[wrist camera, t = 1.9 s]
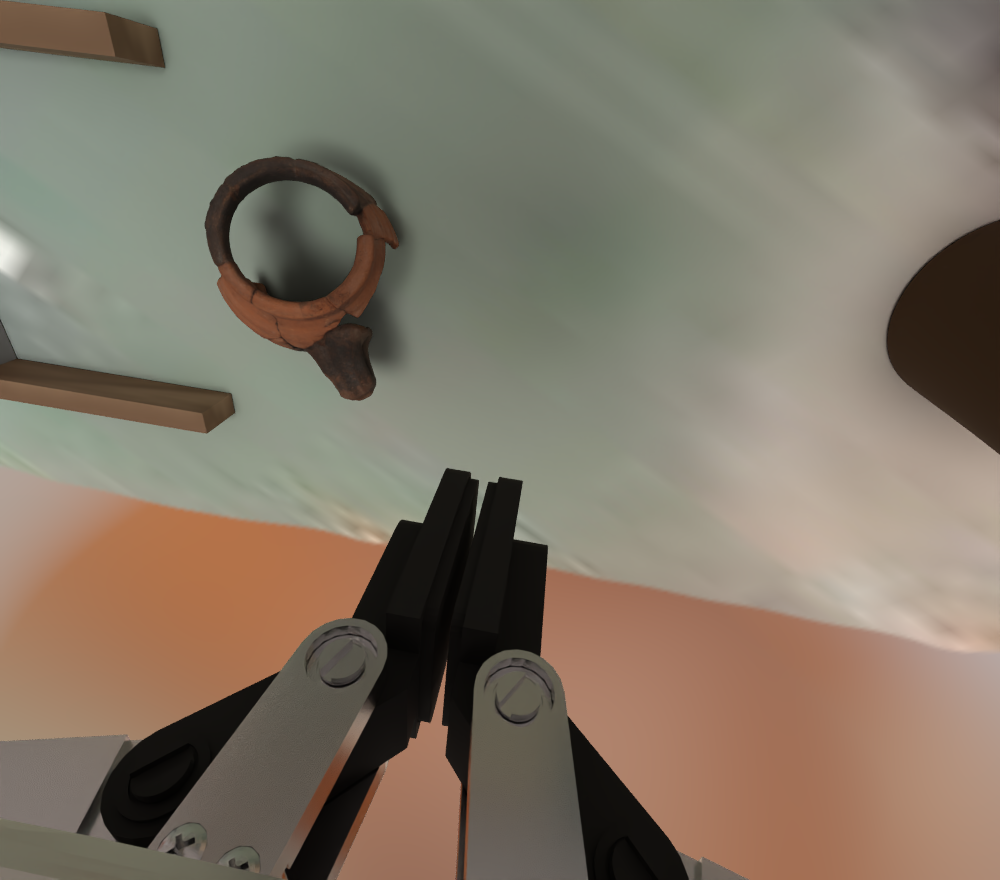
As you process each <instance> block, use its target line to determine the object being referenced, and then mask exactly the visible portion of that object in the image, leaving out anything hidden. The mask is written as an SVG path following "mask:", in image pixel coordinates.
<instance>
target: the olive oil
mask: <svg viewBox="0 0 1000 880" xmlns="http://www.w3.org/2000/svg"><path fill="white" fill-rule="evenodd" d="M887 345H888V353H889V357H890V360H891V363H892V365H893V367H894V369H895V371H896V372H897V373H898V375H899V376H900V377H901V378H902V379H903V381H905V382H906V383H907V384H908V385H909V386H910V387H912V388H913V389H914V390H915V391H917V392H918V393H919V394H921V395H922V396H924V397H925V398H926V399H928V400H929V401H930V402H932V403H933V404H934V405H936V406H937V407H938V408H940V409H941V410H942V411H944V412H945V413H946V414H948V415H949V416H950V417H952V418H953V419H954V420H956V421H957V422H958V423H960V424H961V425H962V426H964V427H965V428H966V429H968V430H969V431H970V432H972V433H973V434H974V435H976V436H977V437H978V438H979V439H981V440H982V441H983V442H984V443H986V444H987V445H988V446H990V447H991V448H992V449H993V450H995V451H996V452H997V453H998V454H1000V221H997V222H994V223H991V224H989V225H986V226H984V227H982V228H980V229H977V230H975V231H973V232H971V233H970V234H968V235H966V236H964V237H963V238H961V239H959V240H958V241H956V242H954V243H953V244H951V245H950V246H949V247H947V248H946V249H945V250H943V251H942V252H941V253H939V254H938V255H937V256H936V257H935V258H933V259H932V260H931V261H930V262H929V263H928V264H927V265H926V266H925V267H924V268H923V269H922V270H921V271H920V272H919V273H918V274H917V275H916V277H915V278H914V279H913V280H912V282H911V283H910V284H909V285H908V287H907V288H906V290H905V291H904V293H903V294H902V296H901V298H900V300H899V301H898V303H897V305H896V307H895V310H894V312H893V315H892V318H891V321H890V325H889V329H888V338H887Z"/></svg>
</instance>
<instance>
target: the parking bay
mask: <svg viewBox="0 0 1000 880" xmlns="http://www.w3.org/2000/svg"><path fill="white" fill-rule="evenodd" d="M0 48H6V49H15V50H23V51H31V52H39V53H48V54H56V55H64V56H72V57H81V58H89V59H97V60H105V61H114V62H122V63H130V64H138V65H147V66H155V67H163V68H165V65H164V60H163V55H162V50H161V45H160V40H159V36H158V31H157V29H156V28H153V27H150V26H147V25H144V24H140V23H137V22H134V21H131V20H128V19H124V18H121V17H118V16H115V15H112V14H108V13H105V12H97V11H88V10H80V9H71V8H62V7H53V6H45V5H36V4H27V3H19V2H10V1H1V0H0ZM0 399H6V400H12V401H18V402H23V403H29V404H35V405H41V406H47V407H53V408H59V409H65V410H71V411H77V412H83V413H89V414H94V415H100V416H106V417H112V418H118V419H124V420H130V421H136V422H142V423H148V424H154V425H159V426H165V427H171V428H177V429H183V430H189V431H195V432H201V433H208V432H210V431H211V430H212V429H214V428H215V427H216V426H218V425H219V424H220V423H222V422H223V421H225V420H226V419H227V418H229V417H230V416H231V415H233V414H234V413H235V411H234V406H233V401H232V396H231V394H230V393H224V392H218V391H212V390H206V389H199V388H193V387H187V386H181V385H175V384H169V383H163V382H157V381H150V380H144V379H138V378H132V377H126V376H120V375H114V374H108V373H101V372H95V371H89V370H83V369H77V368H71V367H65V366H59V365H53V364H46V363H40V362H34V361H28V360H22V359H17V358H16V355H15V353H14V351H13V348H12V346H11V344H10V342H9V339H8V337H7V335H6V333H5V330H4V328H3V326H2V323H1V321H0Z"/></svg>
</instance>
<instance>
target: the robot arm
mask: <svg viewBox="0 0 1000 880" xmlns="http://www.w3.org/2000/svg"><path fill="white" fill-rule="evenodd" d="M522 483H523V481H520V480H514V479H508V478H502V477H499V479H498V483H493V482H488V486H487V489H486V493H485V497H484V500H483V504H482V508H481V511H480V515H479V519H478V523H477V526H476V530H475V534H474V525H475V515H476V506H477V496H478V487H479V480H476V479H471V472H467V471H461V470H455V469H449V468H447V469H446V470H445V472H444V474H443V477H442V479H441V481H440V484H439V486H438V489H437V491H436V493H435V496H434V498H433V501H432V503H431V505H430V508H429V510H428V512H427V515H426V517H425V520H424V522H423V523H418V522H412V521H407V520H401V521H400V522H399V523H398V525H397V527H396V529H395V531H394V533H393V535H392V537H391V539H390V541H389V543H388V545H387V547H386V549H385V551H384V553H383V555H382V557H381V559H380V561H379V563H378V565H377V567H376V570H375V572H374V574H373V576H372V578H371V580H370V582H369V584H368V586H367V588H366V590H365V592H364V594H363V596H362V598H361V600H360V603H359V604H358V606H357V608H356V610H355V613H354V615H353V617H352V618H347V619H338V620H335V621H332V622H329V623H326V624H324V625H322V626H320V627H319V628H317V629H316V630H314V631H313V632H312V633H311V634H310V635H309V636H308V637H307V638H306V639H305V640H304V641H303V642H302V643H301V644H300V646H299V647H298V648H297V650H296V651H295V652H294V654H293V655H292V657H291V658H290V659H289V660H288V662H287V663H286V664H285V666H284V667H283V668H282V670H281V671H279V672H277V673H275V674H273V675H271V676H269V677H267V678H265V679H263V680H261V681H259V682H257V683H255V684H253V685H251V686H249V687H247V688H245V689H242V690H241V691H238V692H236V693H234V694H232V695H231V696H228V697H226V698H224V699H222V700H220V701H218V702H216V703H214V704H212V705H210V706H208V707H206V708H203V709H201V710H199V711H197V712H195V713H193V714H191V715H189V716H187V717H185V718H183V719H181V720H179V721H177V722H175V723H173V724H171V725H169V726H166V727H165V728H162V729H160V730H158V731H157V732H155V733H153V734H152V735H150V736H149V737H147V738H145V739H144V740H130V739H129V737H128V735H112V736H92V737H75V738H56V739H37V740H19V741H1V742H0V880H336V879H337V877H338V875H339V873H340V870H341V868H342V866H343V864H344V861H345V859H346V857H347V855H348V853H349V850H350V848H351V846H352V844H353V842H354V839H355V837H356V835H357V833H358V831H359V828H360V826H361V824H362V822H363V820H364V817H365V815H366V813H367V811H368V808H369V806H370V804H371V802H372V799H373V797H374V795H375V793H376V791H377V789H378V786H379V784H380V782H381V780H382V777H383V775H384V773H385V770H386V768H387V764H388V761H389V759H391V758H392V757H394V756H395V755H397V754H398V753H400V752H401V751H403V750H404V749H406V748H407V746H408V742H409V739H410V738H415V739H416V737H417V733H418V729H419V726H420V722H421V721H424V722H429V723H430V722H431V720H432V717H433V713H434V709H435V705H436V701H437V697H438V693H439V689H440V686H441V682H442V678H443V674H444V670H445V666H446V662H447V670H446V682H445V694H444V707H443V718H442V725H444V726H448V734H447V745H446V758H447V759H448V761H449V763H450V764H451V766H452V768H453V769H454V771H455V773H456V774H457V776H458V778H459V780H460V781H461V787H460V805H459V823H458V824H459V825H458V841H457V860H456V878H455V879H456V880H749V879H746V878H744V877H742V876H740V875H738V874H736V873H734V872H732V871H730V870H728V869H726V868H724V867H722V866H720V865H718V864H716V863H714V862H712V861H710V860H708V859H706V858H704V857H702V858H701V859H700V860H699V861H697V860H695V859H693V858H691V857H689V856H687V855H685V854H683V853H681V852H679V851H677V850H676V849H675V847H674V846H673V844H672V843H671V841H670V840H669V838H668V837H667V836H666V835H665V833H664V832H663V831H662V830H661V829H660V827H659V826H658V825H657V824H656V822H655V821H654V820H653V819H652V818H651V816H650V815H649V814H648V813H647V812H646V810H645V809H644V808H643V807H642V805H641V804H640V803H639V802H638V801H637V799H636V798H635V797H634V796H633V795H632V793H631V792H630V791H629V790H628V788H627V787H626V786H625V785H624V784H623V783H622V781H621V780H620V779H619V778H618V776H617V775H616V774H615V773H614V772H613V771H612V769H611V768H610V767H609V765H608V764H607V763H606V762H605V761H604V760H603V758H602V757H601V756H600V755H599V753H598V752H597V751H596V750H595V748H594V747H593V746H592V745H591V744H590V743H589V741H588V740H587V739H586V738H585V736H584V735H583V734H582V733H581V731H580V730H579V729H578V728H577V727H576V725H575V724H574V723H573V722H572V720H571V719H570V718H569V717H568V716H567V710H566V701H565V693H564V689H563V686H562V682H561V679H560V678H559V676H558V674H557V673H556V671H555V670H554V668H553V667H552V666H551V665H550V664H549V663H548V662H546V661H545V660H544V659H543V658H541V657H540V653H541V638H542V625H543V611H544V597H545V582H546V569H547V554H548V545H543V544H537V543H532V542H526V541H520V540H515V539H513V538H514V532H515V526H516V520H517V514H518V508H519V501H520V495H521V489H522ZM473 534H474V537H473Z"/></svg>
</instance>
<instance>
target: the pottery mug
mask: <svg viewBox="0 0 1000 880" xmlns="http://www.w3.org/2000/svg"><path fill="white" fill-rule="evenodd" d="M282 180H292V181H301V182H304V183H307V184H311V185H314V186H316V187H319V188H321V189H323V190H324V191H326V192H328V193H329V194H330V195H332V196H333V197H334V198H335V199H337V200H338V201H339V202H340V203H341V204H342V205H343V207H344V208H345V209H346V211H347V212H348V213H349V214H350V215H354V216H357V218H358V220H359V223H360V226H361V228H362V230H363V235H360V236H359V237H358V238H357V251H356V257H355V261H354V265H353V267H352V269H351V271H350V273H349V274H348V276H347V277H346V279H345V280H344V281H343V282H342V284H340V285H339V286H338V287H337V288H336V289H335V290H333V291H332V292H331V293H329V294H328V295H327V296H326V297H322V298H319V299H316V300H312V301H304V302H293V301H285V300H281V299H277V298H274V297H272V296H269V295H268V294H267V291H266V288H265V286H264V285H263V284H261V283H255V282H251V281H250V280H249V279H247V278H245V276H244V275H243V274H242V272H241V271H240V269H239V267H238V265H237V264H236V263H235V262H234V259H233V257H232V253H231V249H230V243H229V232H230V224H231V220H232V217H233V215H234V212H235V210H236V209H237V206H238V204H239V203H240V202H241V201H242V200H243V199H244V198H245V197H246V196H247V195H248V194H249V193H251V192H252V191H254V190H255V189H257V188H259V187H261V186H263V185H265V184H268V183H271V182H275V181H282ZM205 229H206V235H207V242H208V247H209V250H210V253H211V256H212V259H213V261H214V263H215V264H216V265H217V266H218V269H219V271H220V273H221V278H219V280H218V282H217V285H218V288H219V290H220V292H221V294H222V296H223V298H224V300H225V301H226V303H227V304H228V305H229V307H230V308H231V310H232V311H233V312H234V313H235V315H236V316H237V317H238V318H239V319H240V320H241V321H242V322H243V323H244V324H246V325H247V326H248V327H249V328H250V329H252V330H253V331H254V332H255V333H257V334H258V335H260V336H261V337H263V338H266V339H268V340H270V341H271V342H273V343H275V344H278V345H280V346H283V347H286V348H289V349H292V350H296V351H305V352H308V353H309V354H310V355H311V356H312V357H313V359H314V360H315V361H316V363H317V364H318V366H319V367H320V368H321V370H322V372H323V373H324V374H325V376H326V377H328V378H329V379H330V380H331V381H332V382H333V384H334V385H335V387H336V388H337V390H338V391H339V393H340V395H341V397H343V398H345V399H350V400H358V401H360V400H363V399H365V398H367V397H369V396H371V395H372V393H373V391H374V388H375V386H376V378H375V375H374V372H373V369H372V366H371V363H370V359H369V354H368V346H369V342H370V339H371V337H372V335H373V333H372V329H370V328H368V327H366V328H365V327H364V326H361V325H357V324H352V323H346V324H343V325H340V326H338V324H339V323H340V321H341V319H342V318H343V316H344V315H345V314H350V315H352V316H354V317H356V318H358V317H359V316H360V315H361V314H362V313H363V311H364V309H365V308H366V306H367V304H368V303H369V300H370V298H371V297H372V296H373V294H374V292H375V290H376V287H377V284H378V281H379V278H380V275H381V273H382V270H383V267H384V261H385V242H386V243H388V244H389V245H390V246H391V247H392V248H393V249H396V248H397V247H398V246H399V242H398V239H397V236H396V233H395V231H394V229H393V227H392V225H391V223H390V221H389V219H388V218H387V216H386V214H385V212H384V211H383V210H381V209H380V208H379V207H378V206H377V203H376V201H375V199H374V198H373V197H372V196H371V195H370V194H368V193H367V192H365V191H364V190H363V189H362V188H360V187H359V186H358V185H356V184H354V183H353V182H351V181H350V180H348V179H347V178H345V177H343V176H341V175H339V174H337V173H335V172H333V171H331V170H329V169H327V168H325V167H323V166H321V165H319V164H317V163H314V162H310V161H307V160H302V159H296V160H294V159H292V158H290V157H278V156H275V157H272V158H265V159H258V160H255V161H252V162H250V163H248V164H246V165H243V166H241V167H240V168H238V169H237V170H235V171H234V172H233V173H232V174H230V175H229V176H228V177H226V179H225V181H224V183H223V184H222V185H221V186H220V187H219V188H218V190H217V192H216V194H215V196H214V198H213V199H212V200H211V202H210V207H209V210H208V212H207V216H206V221H205Z"/></svg>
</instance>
